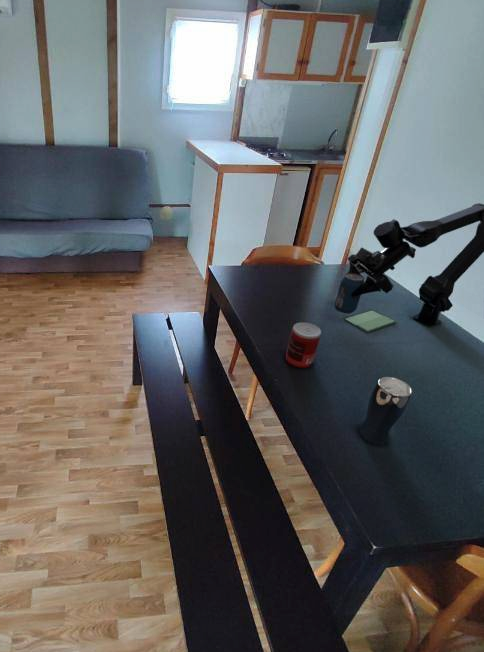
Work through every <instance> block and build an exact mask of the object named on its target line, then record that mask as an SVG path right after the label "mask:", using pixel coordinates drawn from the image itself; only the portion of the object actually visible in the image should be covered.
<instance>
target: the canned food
mask: <svg viewBox="0 0 484 652" xmlns="http://www.w3.org/2000/svg"><path fill="white" fill-rule="evenodd" d="M291 329H292V330H291V332H290V333H291V334H290V337H289V342H288V345H287V349H286V353H285V360H286V362H287V363H288V364H289V365H290V366H292V367H295V368H298V369H306V368H309V367H311V365H312V364H313V363H314V358H315V357H316V352H317V350H318V345H319V342H320V339H321V335H322V330H321V329H320V327H319V326H317V325H315V324H314V323H310V322H297V323H295V324H294V325H293V327H292V328H291Z"/></svg>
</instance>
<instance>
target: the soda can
mask: <svg viewBox="0 0 484 652" xmlns="http://www.w3.org/2000/svg"><path fill="white" fill-rule="evenodd" d="M360 274H361V273H360ZM360 274H356V273H348V272H347V273H344V275H343V276H342V278H341V279H340V282H339V286H338V289H337V292H336V296H335V299H334V303H333V306H334V309H335V310H336V312H339V313H342V314H346V315H347V314H352V313H354V312H355V311H356V310H358V309H357V308H358V305H359V302H360V300H361V296H362V295H358V296H354V297H353V296H352V295H351V294H352V293H353V292H354V291H355V290H356V289H357V288H358V287H360V286H361V285H362V284H363V283H364V282H365V276H363V275H362V274H361V275H360Z"/></svg>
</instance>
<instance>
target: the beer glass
mask: <svg viewBox="0 0 484 652" xmlns="http://www.w3.org/2000/svg"><path fill="white" fill-rule="evenodd" d="M412 393H413V389H412V388H411V386H410V385H409V384H408V383H407V382H405V381H404V380H402V379H399V378H396V377H392V376H383V377H380V378H379V379H378V381H377V383H376V385H375V387H374V388H373V390H372V393H371V395H370V397H369V400H368V406H367V411H366V412H367V413H366V417H365V420H364V421H363V423H362V424H361V425H360V426H359V429H358V433H359V436H360V437H361V438H362V439H363V440H365V441H366V442H368V443H370V444H373V445H377V446H379V445H380V446H381V445H384V444H386V443H387V442H388V438H389V433H390V430H391V429H392V427H393V426H394V425H395V424H396V422H397V421H398V420H399V419H400V418H401V416H402V415H403V413H404V412H405V410H406V408H407V406H408V404H409V401H410V398H411V395H412Z"/></svg>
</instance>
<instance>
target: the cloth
mask: <svg viewBox="0 0 484 652" xmlns="http://www.w3.org/2000/svg"><path fill="white" fill-rule="evenodd" d="M344 320H345V321H346V322H348V323H350V324H352V325H354V326H355V327H357V328H359V329H361V330H362V331H365V332H366V333H368V332H371V331H373V330H377V329H380V328H383V327H386V326H389V325H392V324H395V322H396V320H394V319H392V318H389V317H387V316H386V315H382V314H380V313H378V312H376V311H374V310H369V311H366V312H363V313H359V314H356V315H353V316H350V317H347V318H344Z"/></svg>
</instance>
